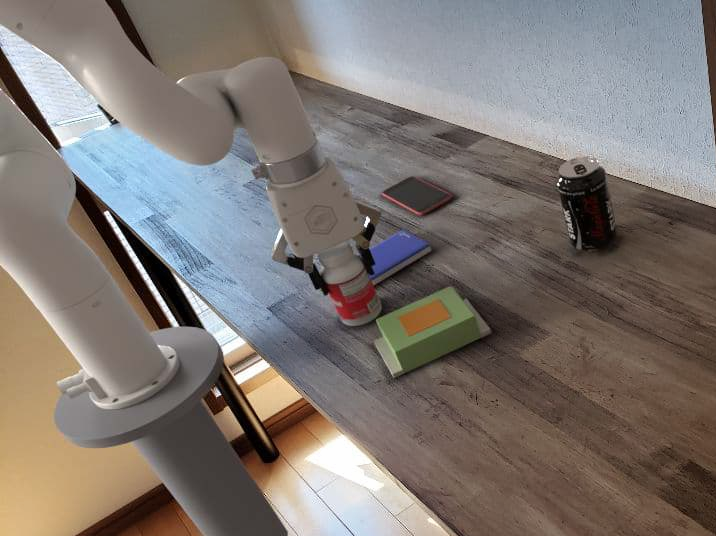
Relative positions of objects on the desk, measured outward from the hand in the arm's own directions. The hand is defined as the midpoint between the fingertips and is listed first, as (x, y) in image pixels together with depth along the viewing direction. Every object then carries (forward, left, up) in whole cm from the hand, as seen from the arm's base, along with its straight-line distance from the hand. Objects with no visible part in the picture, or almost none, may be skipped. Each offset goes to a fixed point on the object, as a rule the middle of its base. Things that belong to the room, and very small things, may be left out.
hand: (347, 280), depth 116 cm
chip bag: (+6, -13, -6) cm, 16 cm away
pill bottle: (0, 0, -6) cm, 6 cm away
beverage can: (+34, -8, -6) cm, 35 cm away
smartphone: (+18, +28, -6) cm, 34 cm away
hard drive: (+7, +11, -6) cm, 14 cm away
